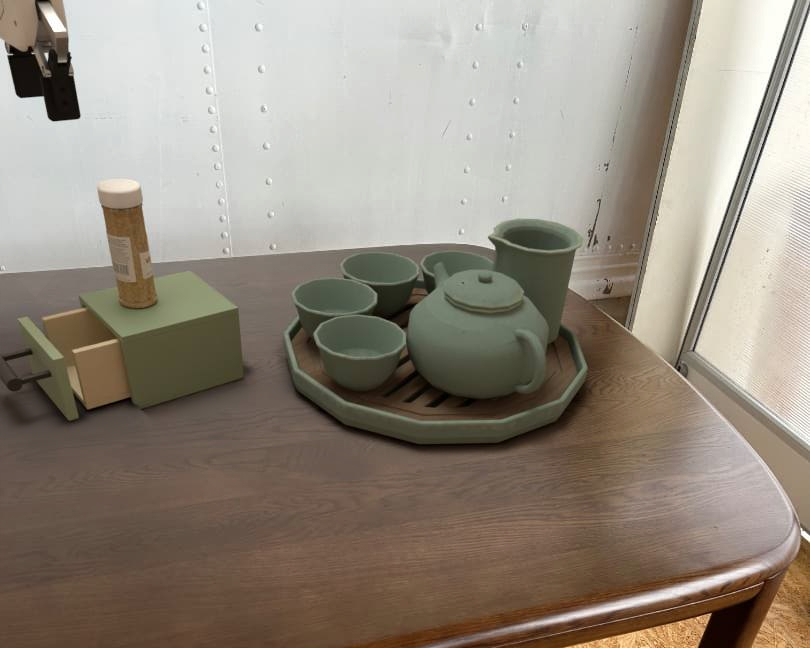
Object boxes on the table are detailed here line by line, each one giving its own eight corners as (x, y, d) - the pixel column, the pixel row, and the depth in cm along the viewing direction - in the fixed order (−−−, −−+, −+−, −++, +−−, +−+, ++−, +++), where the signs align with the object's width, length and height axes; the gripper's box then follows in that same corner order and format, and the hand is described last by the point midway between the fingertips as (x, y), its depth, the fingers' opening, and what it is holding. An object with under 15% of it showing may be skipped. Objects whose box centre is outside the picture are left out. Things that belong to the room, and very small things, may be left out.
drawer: (25, 434, 87) (6, 371, 82) (-8, 388, 94) (-28, 328, 88) (178, 388, 96) (169, 329, 91) (138, 350, 103) (128, 293, 98)
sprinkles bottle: (165, 303, 94) (148, 185, 85) (130, 313, 92) (109, 193, 83) (145, 290, 96) (126, 174, 88) (111, 299, 94) (88, 181, 85)
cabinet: (135, 411, 94) (121, 337, 87) (94, 366, 101) (78, 294, 94) (244, 377, 101) (238, 307, 94) (198, 338, 108) (189, 270, 102)
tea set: (395, 278, 127) (401, 170, 116) (626, 359, 111) (658, 243, 100) (219, 373, 101) (205, 246, 90) (487, 495, 86) (510, 359, 75)
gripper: (-64, -109, 75) (-15, 91, 87) (-7, -89, 66) (40, 133, 77) (17, -106, 79) (54, 86, 91) (82, -86, 70) (115, 125, 81)
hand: (48, 107), depth 84 cm, fingers open, 9 cm apart
